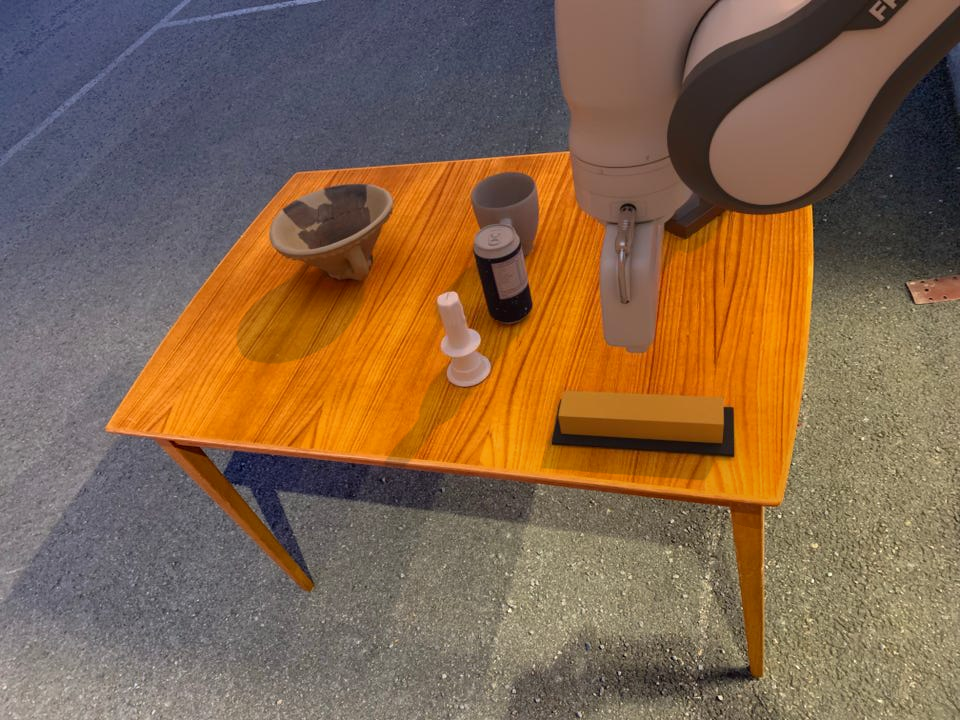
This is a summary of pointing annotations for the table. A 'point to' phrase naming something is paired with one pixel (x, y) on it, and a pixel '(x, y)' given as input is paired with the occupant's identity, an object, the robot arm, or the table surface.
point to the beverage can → (503, 273)
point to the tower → (692, 216)
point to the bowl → (333, 228)
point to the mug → (508, 205)
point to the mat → (653, 441)
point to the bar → (642, 416)
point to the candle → (461, 344)
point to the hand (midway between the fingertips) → (641, 309)
